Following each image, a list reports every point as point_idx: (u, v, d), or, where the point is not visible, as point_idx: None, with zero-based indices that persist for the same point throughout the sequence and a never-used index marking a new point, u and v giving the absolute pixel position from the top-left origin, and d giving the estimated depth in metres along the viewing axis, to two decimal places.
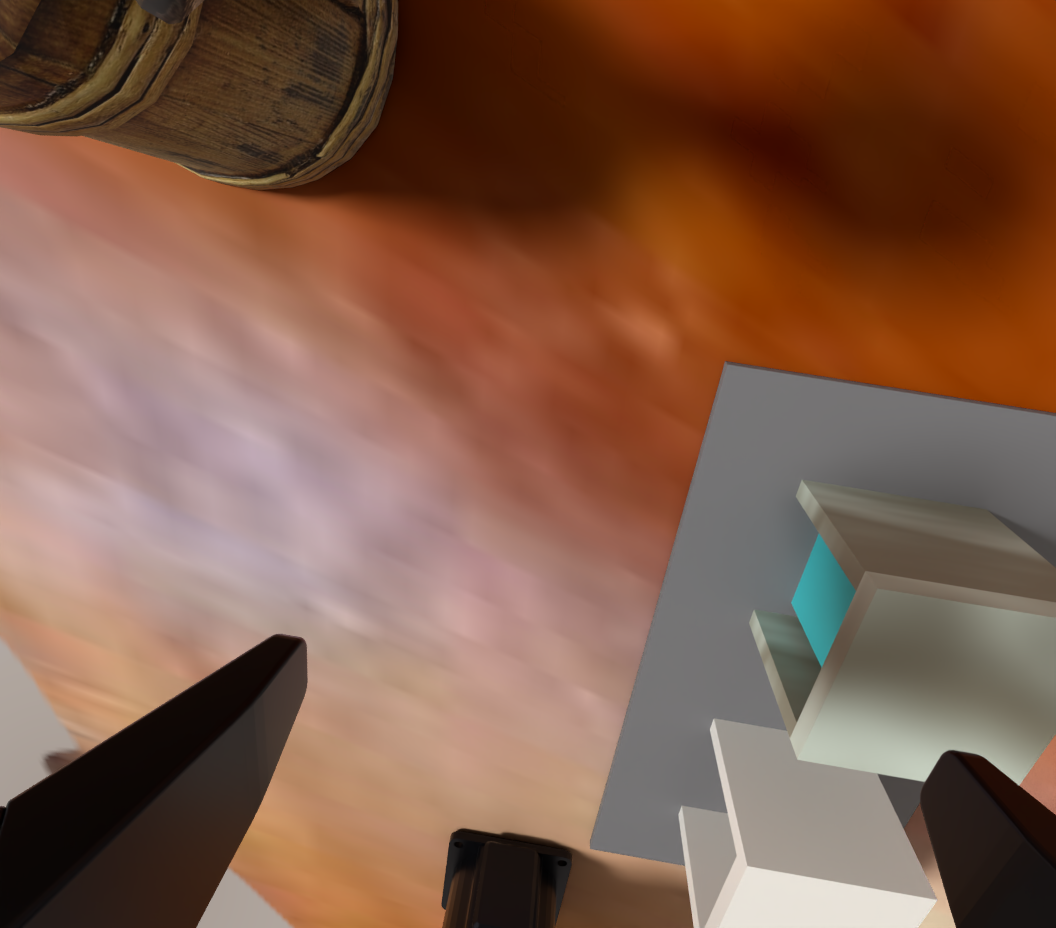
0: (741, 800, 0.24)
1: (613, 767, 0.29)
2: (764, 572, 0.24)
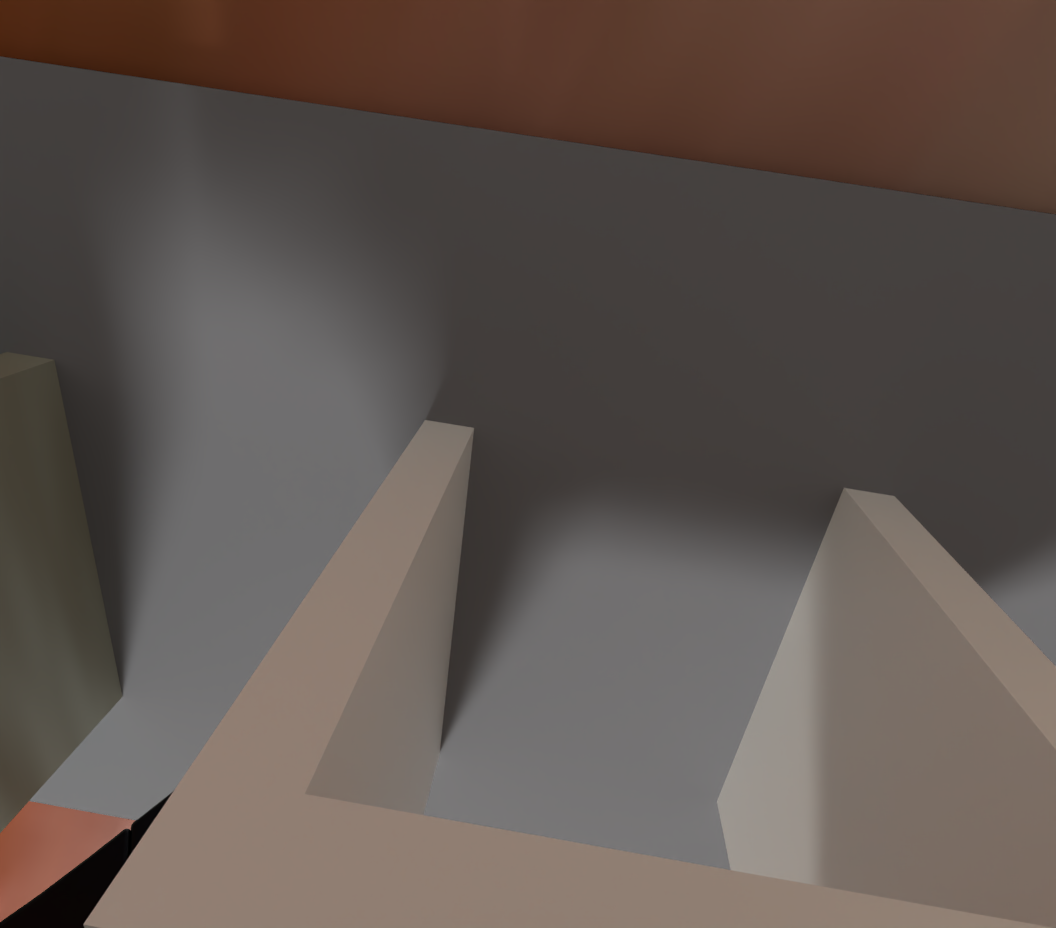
0: None
1: None
2: None
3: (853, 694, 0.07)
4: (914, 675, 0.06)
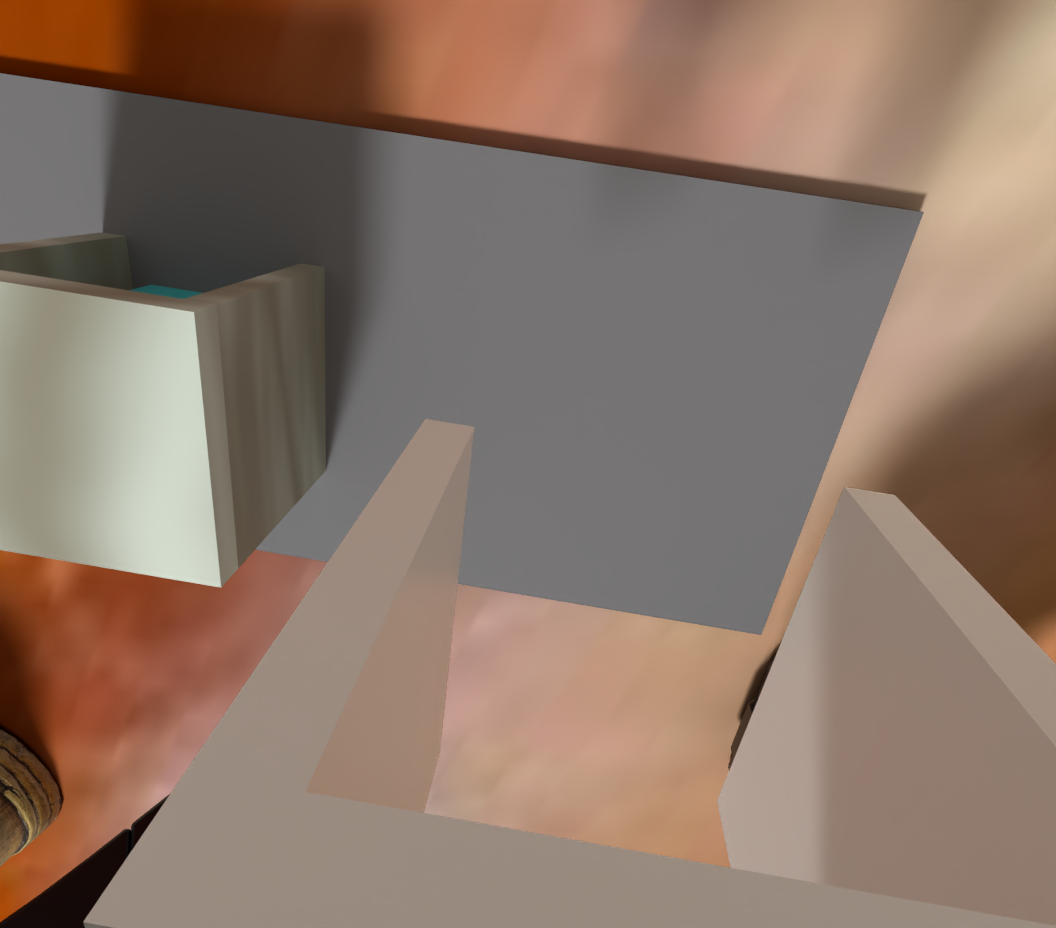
0: None
1: (590, 604, 0.22)
2: None
3: (854, 693, 0.07)
4: (915, 674, 0.06)
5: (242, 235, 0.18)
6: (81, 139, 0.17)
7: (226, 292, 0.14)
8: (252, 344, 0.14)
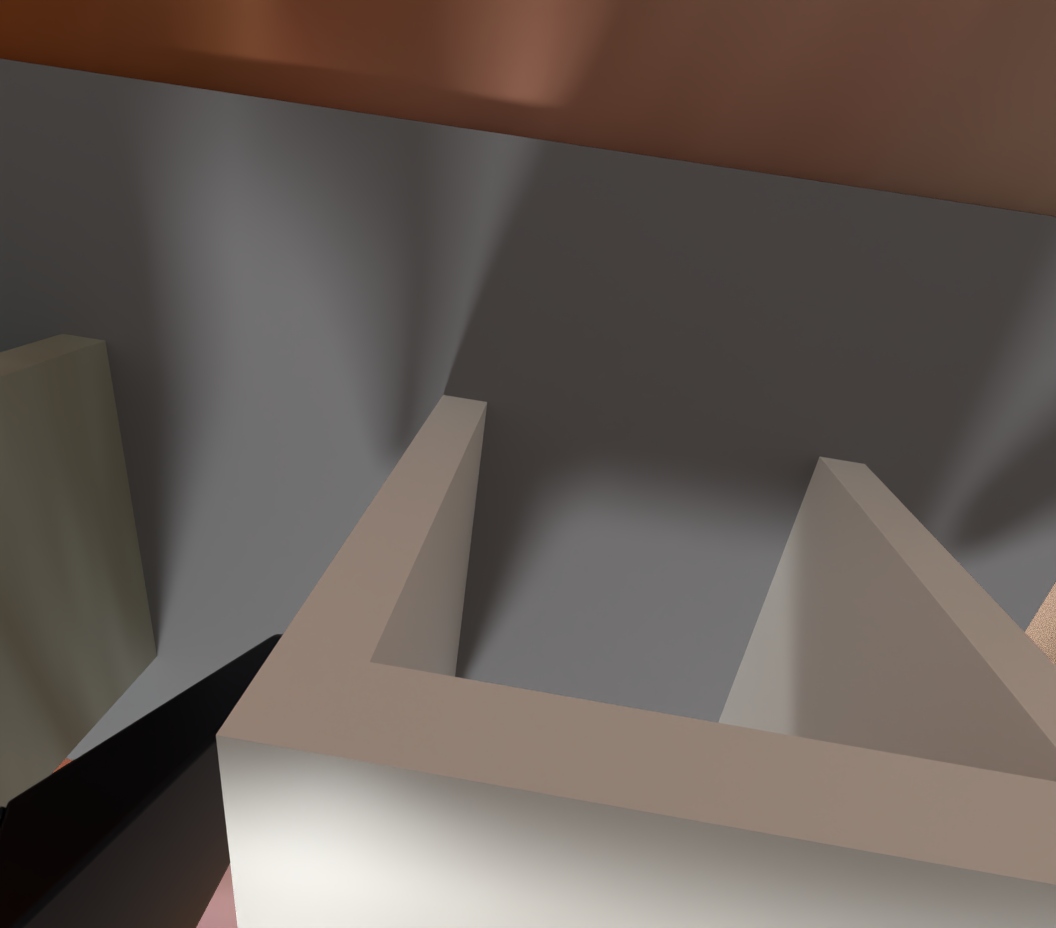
0: None
1: None
2: None
3: (824, 635, 0.08)
4: (873, 610, 0.07)
5: None
6: None
7: None
8: None
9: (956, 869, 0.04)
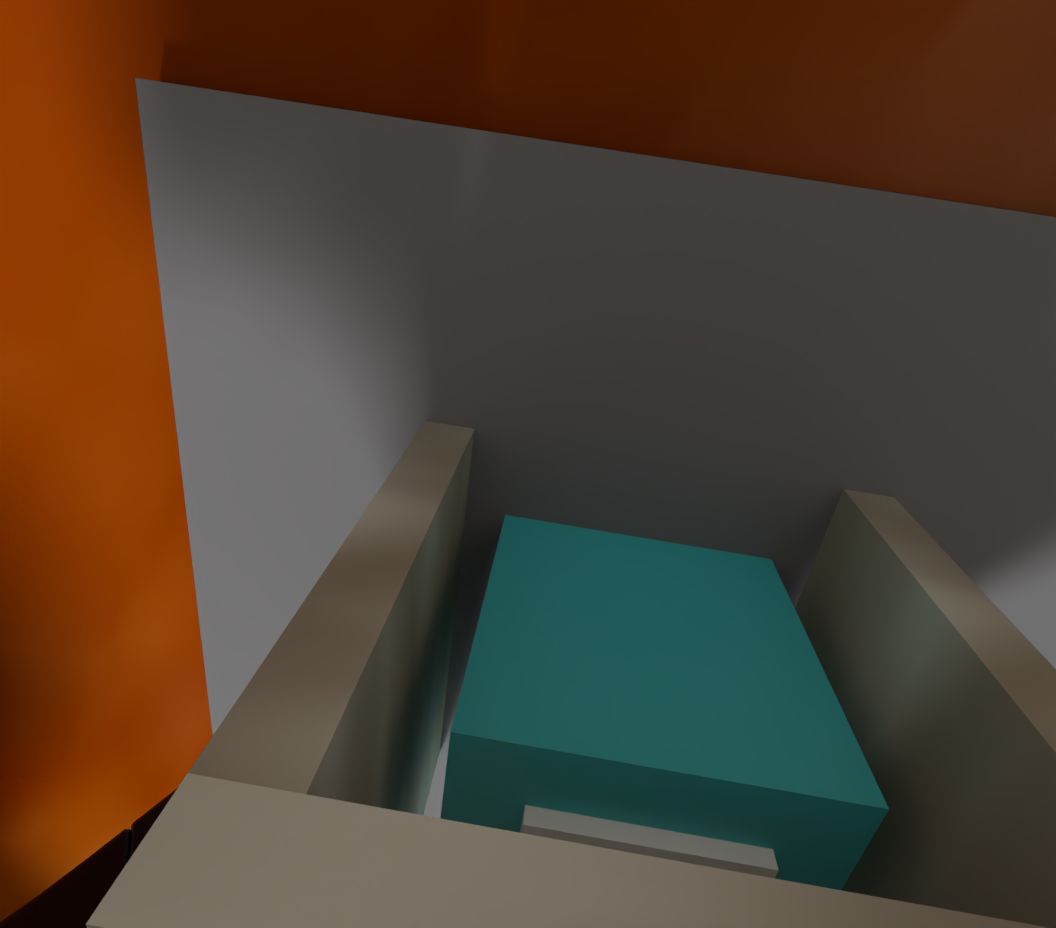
0: None
1: None
2: None
3: None
4: None
5: (732, 435, 0.08)
6: (421, 240, 0.08)
7: None
8: None
9: None
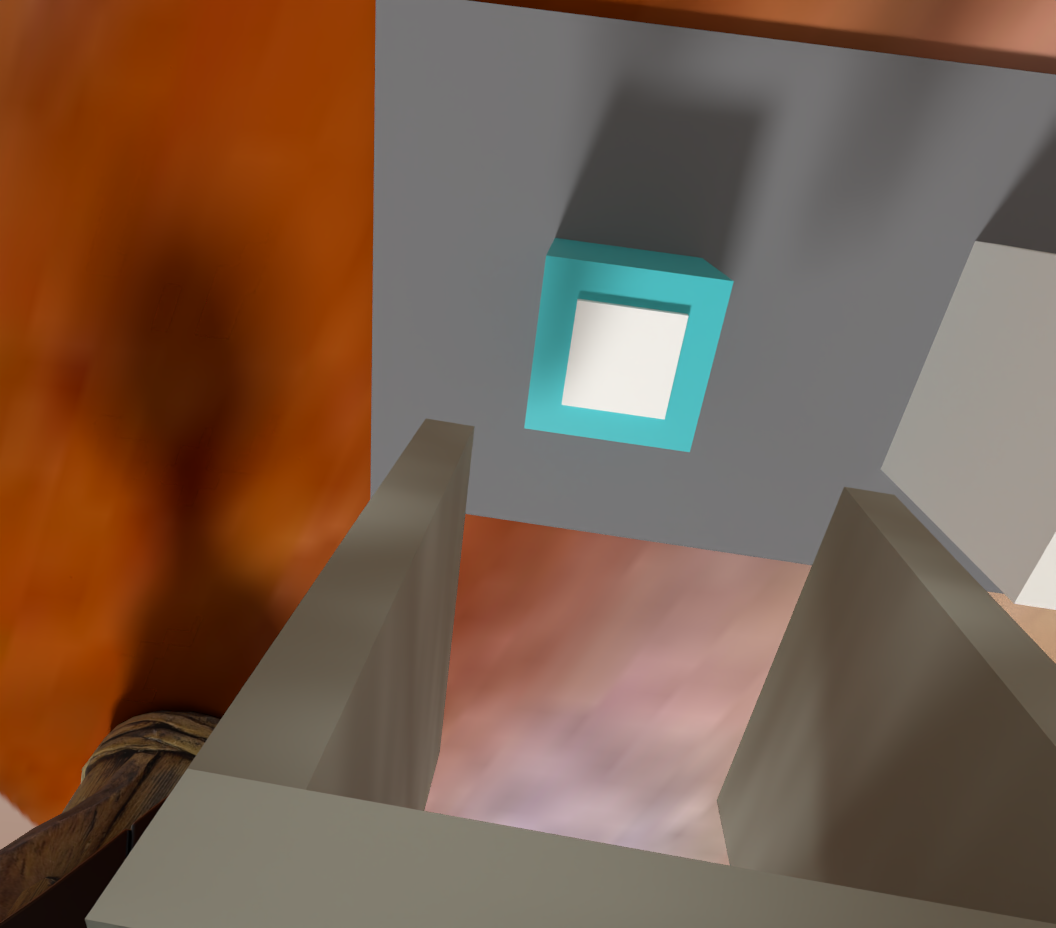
0: (954, 526, 0.15)
1: None
2: None
3: None
4: None
5: (676, 178, 0.16)
6: (514, 71, 0.15)
7: None
8: None
9: None
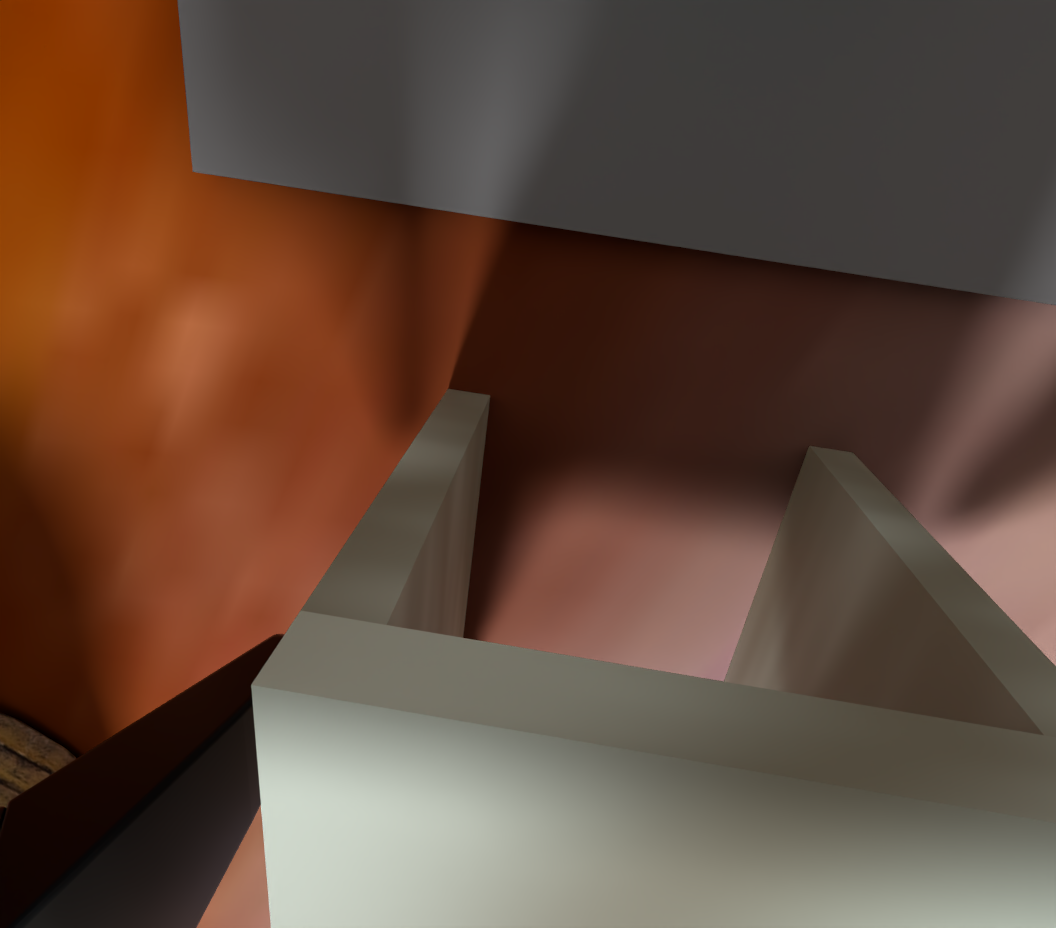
0: None
1: None
2: None
3: None
4: None
5: None
6: None
7: (1001, 646, 0.06)
8: None
9: None
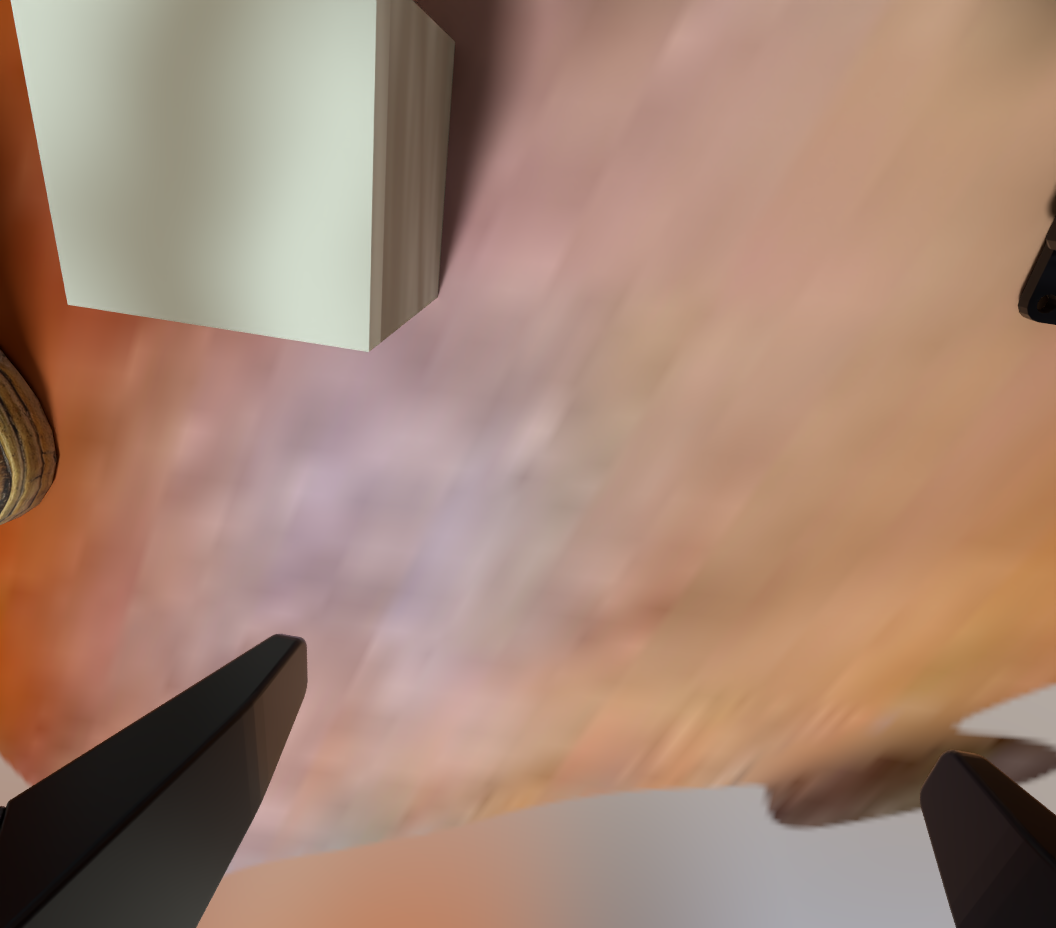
0: None
1: None
2: None
3: None
4: None
5: None
6: None
7: None
8: (408, 69, 0.13)
9: None
